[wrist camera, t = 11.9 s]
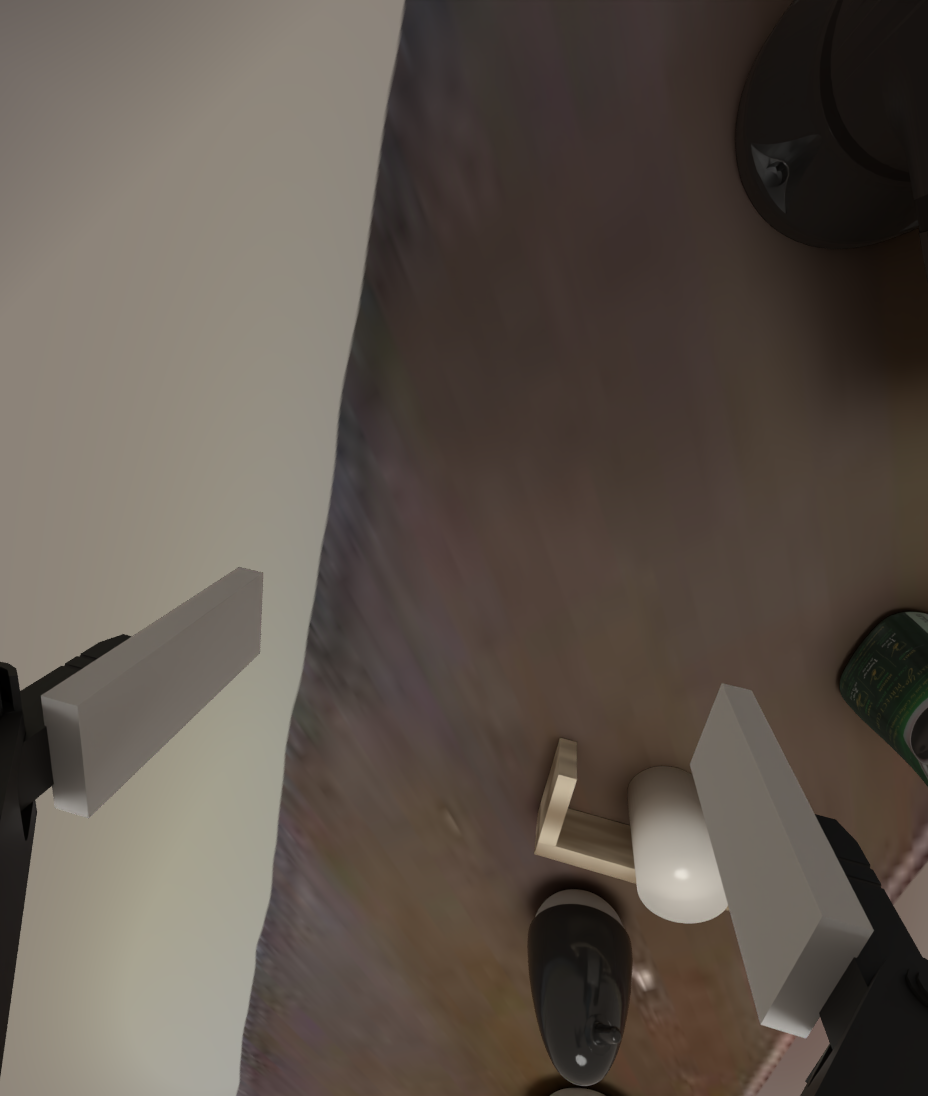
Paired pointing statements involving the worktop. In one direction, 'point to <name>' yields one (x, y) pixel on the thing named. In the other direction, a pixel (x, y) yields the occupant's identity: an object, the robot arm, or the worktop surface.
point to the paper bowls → (576, 1092)
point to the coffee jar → (893, 685)
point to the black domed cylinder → (580, 982)
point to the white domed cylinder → (673, 847)
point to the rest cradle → (580, 825)
